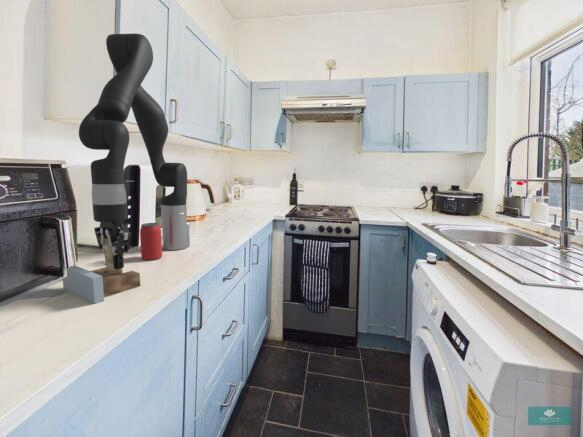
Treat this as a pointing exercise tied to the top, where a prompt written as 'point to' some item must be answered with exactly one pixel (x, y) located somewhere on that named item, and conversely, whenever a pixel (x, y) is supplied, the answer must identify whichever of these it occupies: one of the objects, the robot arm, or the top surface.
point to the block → (118, 281)
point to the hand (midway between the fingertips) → (114, 266)
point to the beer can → (151, 241)
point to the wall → (84, 284)
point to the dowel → (110, 259)
